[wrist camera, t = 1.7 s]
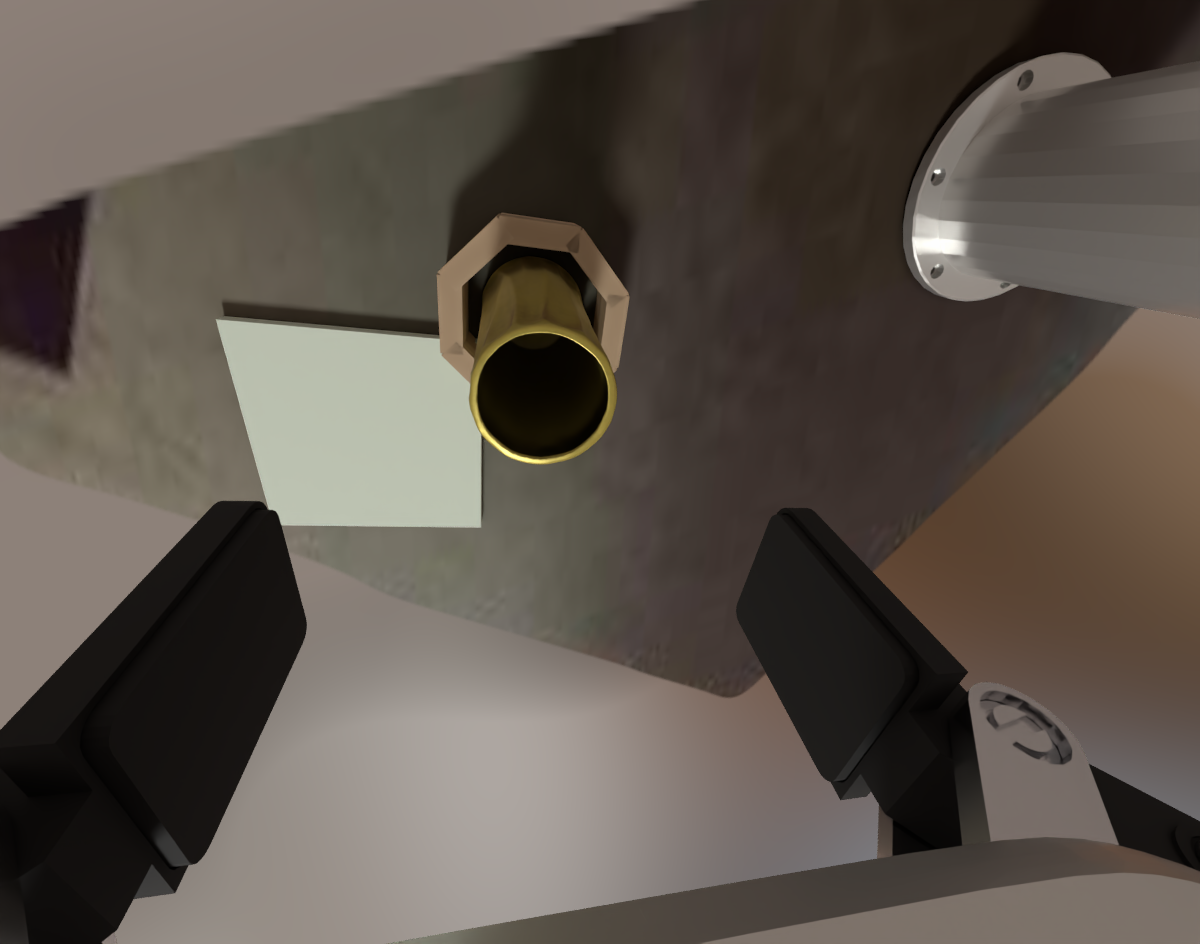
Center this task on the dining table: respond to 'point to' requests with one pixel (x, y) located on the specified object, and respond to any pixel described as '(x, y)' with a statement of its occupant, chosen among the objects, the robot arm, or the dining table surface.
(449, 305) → the ring
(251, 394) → the mat
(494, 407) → the vase
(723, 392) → the dining table surface
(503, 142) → the dining table surface
